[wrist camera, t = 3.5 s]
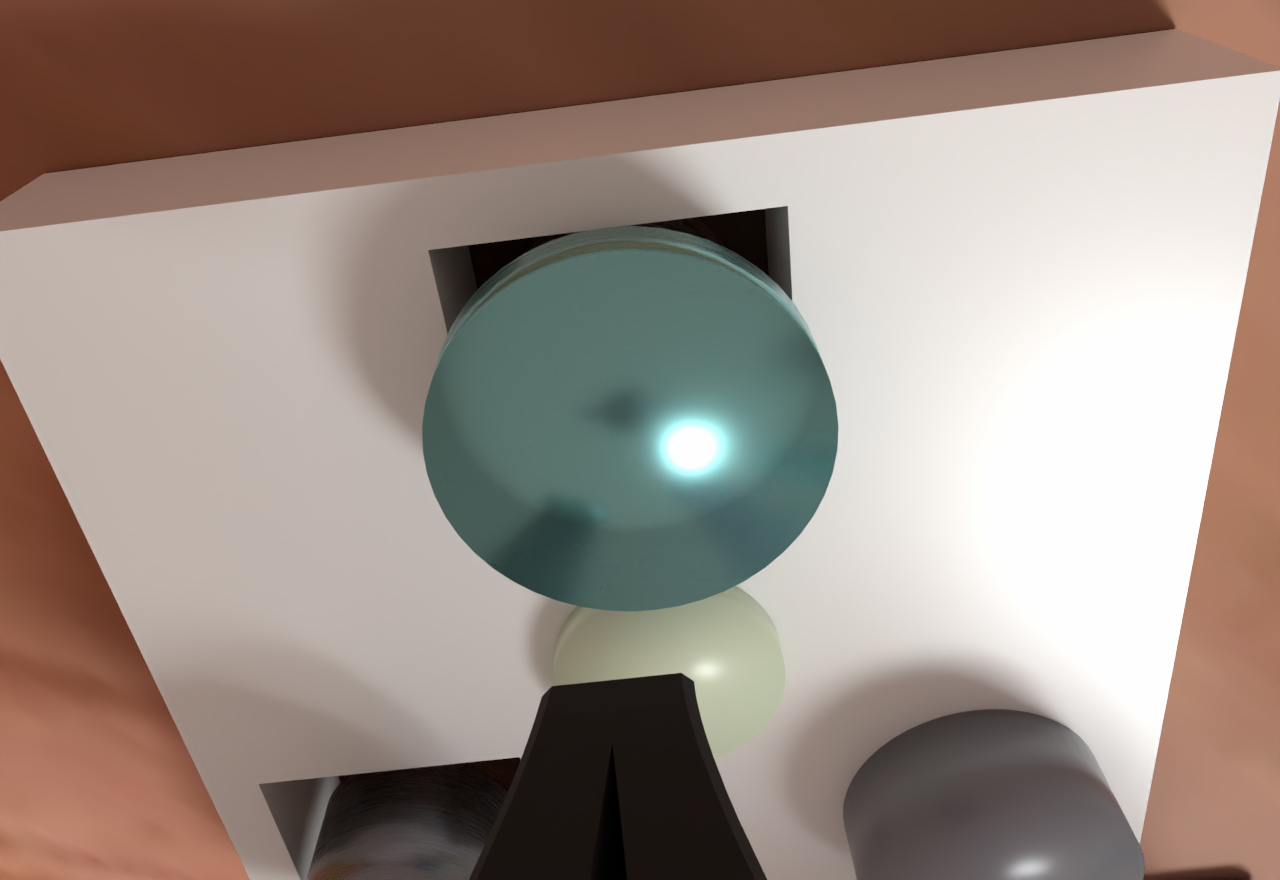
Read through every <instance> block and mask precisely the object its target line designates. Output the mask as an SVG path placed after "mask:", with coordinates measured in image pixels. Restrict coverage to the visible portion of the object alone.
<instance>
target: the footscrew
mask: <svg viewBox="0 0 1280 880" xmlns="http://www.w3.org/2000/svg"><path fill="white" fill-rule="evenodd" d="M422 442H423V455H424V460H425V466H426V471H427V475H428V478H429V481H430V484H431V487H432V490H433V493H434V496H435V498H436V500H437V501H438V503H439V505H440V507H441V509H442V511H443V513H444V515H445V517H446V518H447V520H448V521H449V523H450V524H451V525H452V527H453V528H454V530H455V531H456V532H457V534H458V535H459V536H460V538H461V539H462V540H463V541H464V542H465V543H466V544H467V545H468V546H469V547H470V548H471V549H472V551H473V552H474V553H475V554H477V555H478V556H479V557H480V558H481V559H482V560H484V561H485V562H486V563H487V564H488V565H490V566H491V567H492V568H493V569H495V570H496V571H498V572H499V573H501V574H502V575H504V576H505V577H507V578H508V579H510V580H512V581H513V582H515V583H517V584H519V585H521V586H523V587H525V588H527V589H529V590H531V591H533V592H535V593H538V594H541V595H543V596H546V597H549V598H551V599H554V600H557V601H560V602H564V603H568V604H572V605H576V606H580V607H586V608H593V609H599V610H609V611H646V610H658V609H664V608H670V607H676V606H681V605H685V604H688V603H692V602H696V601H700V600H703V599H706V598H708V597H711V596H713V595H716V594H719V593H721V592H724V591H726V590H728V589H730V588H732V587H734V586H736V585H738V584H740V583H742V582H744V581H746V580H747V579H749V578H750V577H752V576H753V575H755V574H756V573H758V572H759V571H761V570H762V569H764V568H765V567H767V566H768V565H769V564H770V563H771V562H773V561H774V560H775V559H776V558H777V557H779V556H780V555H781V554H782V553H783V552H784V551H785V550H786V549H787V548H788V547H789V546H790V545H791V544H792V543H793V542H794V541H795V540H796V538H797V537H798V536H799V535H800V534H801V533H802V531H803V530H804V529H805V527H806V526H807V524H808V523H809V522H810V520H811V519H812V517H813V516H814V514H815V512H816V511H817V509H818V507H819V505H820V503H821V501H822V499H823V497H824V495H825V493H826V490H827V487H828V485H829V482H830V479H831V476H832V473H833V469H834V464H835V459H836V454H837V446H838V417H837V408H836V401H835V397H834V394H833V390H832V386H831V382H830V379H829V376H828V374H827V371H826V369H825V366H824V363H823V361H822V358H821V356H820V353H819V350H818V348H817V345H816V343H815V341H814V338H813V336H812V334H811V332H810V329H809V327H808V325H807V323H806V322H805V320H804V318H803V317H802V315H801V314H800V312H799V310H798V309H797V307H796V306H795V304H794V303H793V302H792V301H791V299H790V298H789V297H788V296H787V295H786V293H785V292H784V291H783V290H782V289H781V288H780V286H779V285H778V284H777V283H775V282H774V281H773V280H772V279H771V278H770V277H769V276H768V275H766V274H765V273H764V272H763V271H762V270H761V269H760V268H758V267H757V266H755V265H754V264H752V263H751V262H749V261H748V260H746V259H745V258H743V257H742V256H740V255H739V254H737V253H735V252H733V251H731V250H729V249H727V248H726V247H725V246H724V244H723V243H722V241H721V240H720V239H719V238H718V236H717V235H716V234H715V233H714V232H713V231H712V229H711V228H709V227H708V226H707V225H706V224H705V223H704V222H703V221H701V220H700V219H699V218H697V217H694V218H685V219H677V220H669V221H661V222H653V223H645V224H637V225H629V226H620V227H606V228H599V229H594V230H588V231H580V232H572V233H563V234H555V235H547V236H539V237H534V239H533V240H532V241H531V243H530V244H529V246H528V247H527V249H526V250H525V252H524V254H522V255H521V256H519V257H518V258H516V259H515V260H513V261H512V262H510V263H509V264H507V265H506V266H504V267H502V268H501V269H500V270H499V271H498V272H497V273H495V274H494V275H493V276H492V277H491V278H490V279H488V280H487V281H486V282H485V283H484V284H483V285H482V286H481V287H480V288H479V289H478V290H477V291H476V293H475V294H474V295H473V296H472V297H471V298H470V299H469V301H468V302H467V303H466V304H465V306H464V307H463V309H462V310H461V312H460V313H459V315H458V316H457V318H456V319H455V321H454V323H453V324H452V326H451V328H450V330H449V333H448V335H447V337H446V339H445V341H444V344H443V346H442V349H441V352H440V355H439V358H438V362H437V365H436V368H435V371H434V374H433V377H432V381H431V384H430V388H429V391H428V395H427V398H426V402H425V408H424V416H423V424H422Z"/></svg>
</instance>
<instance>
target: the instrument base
mask: <svg viewBox="0 0 1280 880" xmlns="http://www.w3.org/2000/svg"><path fill="white" fill-rule="evenodd" d="M1279 99H1280V68H1279V67H1276V66H1274V65H1271V64H1268V63H1266V62H1263V61H1261V60H1258V59H1256V58H1253V57H1250V56H1248V55H1245V54H1243V53H1240V52H1237V51H1235V50H1232V49H1230V48H1227V47H1224V46H1222V45H1219V44H1217V43H1214V42H1211V41H1209V40H1206V39H1204V38H1201V37H1198V36H1196V35H1193V34H1191V33H1188V32H1186V31H1183V30H1180V29H1172V30H1164V31H1156V32H1148V33H1141V34H1133V35H1125V36H1117V37H1109V38H1101V39H1094V40H1086V41H1078V42H1070V43H1062V44H1055V45H1047V46H1039V47H1031V48H1023V49H1015V50H1008V51H1000V52H992V53H984V54H976V55H968V56H961V57H953V58H945V59H937V60H929V61H922V62H914V63H906V64H898V65H890V66H882V67H875V68H867V69H859V70H851V71H843V72H835V73H828V74H820V75H812V76H804V77H796V78H788V79H781V80H773V81H765V82H757V83H749V84H742V85H734V86H726V87H718V88H710V89H702V90H695V91H687V92H679V93H671V94H663V95H655V96H648V97H640V98H632V99H624V100H616V101H608V102H601V103H593V104H585V105H577V106H569V107H562V108H554V109H546V110H538V111H530V112H522V113H515V114H507V115H499V116H491V117H483V118H475V119H468V120H460V121H452V122H444V123H436V124H428V125H421V126H413V127H405V128H397V129H389V130H382V131H374V132H366V133H358V134H350V135H342V136H335V137H327V138H319V139H311V140H303V141H295V142H288V143H280V144H272V145H264V146H256V147H248V148H241V149H233V150H225V151H217V152H209V153H202V154H194V155H186V156H178V157H170V158H162V159H155V160H147V161H139V162H131V163H123V164H115V165H108V166H100V167H92V168H84V169H76V170H68V171H61V172H53V173H45V174H42V175H41V176H39V177H38V178H36V179H35V180H33V181H32V182H30V183H28V184H27V185H25V186H24V187H22V188H21V189H19V190H18V191H16V192H14V193H13V194H11V195H10V196H8V197H7V198H5V199H4V200H2V201H0V360H1V362H2V364H3V366H4V368H5V370H6V372H7V374H8V376H9V378H10V380H11V382H12V385H13V387H14V389H15V391H16V393H17V395H18V397H19V399H20V401H21V403H22V405H23V407H24V410H25V412H26V414H27V416H28V418H29V420H30V422H31V424H32V426H33V428H34V430H35V432H36V435H37V437H38V439H39V441H40V443H41V445H42V447H43V449H44V451H45V453H46V455H47V457H48V460H49V462H50V464H51V466H52V468H53V470H54V472H55V474H56V476H57V478H58V480H59V483H60V485H61V487H62V489H63V491H64V493H65V495H66V497H67V499H68V501H69V503H70V505H71V508H72V510H73V512H74V514H75V516H76V518H77V520H78V522H79V524H80V526H81V528H82V530H83V533H84V535H85V537H86V539H87V541H88V543H89V545H90V547H91V549H92V551H93V553H94V555H95V558H96V560H97V562H98V564H99V566H100V568H101V570H102V572H103V574H104V576H105V578H106V580H107V583H108V585H109V587H110V589H111V591H112V593H113V595H114V597H115V599H116V601H117V603H118V605H119V608H120V610H121V612H122V614H123V616H124V618H125V620H126V622H127V624H128V626H129V628H130V630H131V633H132V635H133V637H134V639H135V641H136V643H137V645H138V647H139V649H140V651H141V653H142V655H143V658H144V660H145V662H146V664H147V666H148V668H149V670H150V672H151V674H152V676H153V678H154V681H155V683H156V685H157V687H158V689H159V691H160V693H161V695H162V697H163V699H164V701H165V703H166V706H167V708H168V710H169V712H170V714H171V716H172V718H173V720H174V722H175V724H176V726H177V728H178V731H179V733H180V735H181V737H182V739H183V741H184V743H185V745H186V747H187V749H188V751H189V753H190V756H191V758H192V760H193V762H194V764H195V766H196V768H197V770H198V772H199V774H200V776H201V778H202V781H203V783H204V785H205V787H206V789H207V791H208V793H209V795H210V797H211V799H212V801H213V803H214V806H215V808H216V810H217V812H218V814H219V816H220V818H221V820H222V822H223V824H224V826H225V828H226V831H227V833H228V835H229V837H230V839H231V841H232V843H233V845H234V847H235V849H236V851H237V853H238V856H239V858H240V860H241V862H242V864H243V866H244V868H245V870H246V872H247V874H248V876H249V879H250V880H306V879H307V876H308V872H309V869H310V865H311V861H312V858H313V854H314V851H315V847H316V844H317V840H318V837H319V833H320V830H321V826H322V823H323V819H324V816H325V812H326V809H327V805H328V802H329V799H330V797H331V795H332V793H333V791H334V790H335V789H336V788H337V786H338V785H339V784H340V783H341V782H340V780H339V777H338V776H341V775H351V774H361V773H371V772H380V771H390V770H400V769H409V768H419V767H429V766H438V765H448V764H458V763H468V762H477V761H487V760H497V759H506V758H516V757H520V760H521V758H522V755H523V752H524V750H525V747H526V744H527V741H528V738H529V735H530V733H531V730H532V727H533V724H534V721H535V718H536V714H537V711H538V708H539V704H540V701H541V697H542V696H543V695H544V694H545V693H546V692H547V691H548V690H549V689H550V688H551V687H552V686H558V685H568V684H578V683H587V682H597V681H607V680H616V679H626V678H636V677H646V676H655V675H665V674H675V673H682V674H684V675H685V676H687V677H688V678H690V679H691V680H693V681H694V685H695V693H696V698H697V703H698V707H699V711H700V716H701V720H702V723H703V726H704V730H705V733H706V736H707V739H708V742H709V745H710V748H711V751H712V754H713V757H714V760H715V762H716V765H717V767H718V770H719V773H720V775H721V778H722V781H723V783H724V786H725V788H726V791H727V793H728V796H729V798H730V800H731V803H732V805H733V807H734V810H735V812H736V814H737V817H738V819H739V821H740V823H741V825H742V827H743V829H744V831H745V834H746V836H747V838H748V840H749V842H750V844H751V846H752V848H753V851H754V853H755V855H756V857H757V859H758V861H759V863H760V865H761V867H762V870H763V872H764V874H765V876H766V878H767V880H1143V878H1144V868H1145V865H1144V857H1143V853H1142V850H1141V847H1140V840H1141V835H1142V830H1143V824H1144V819H1145V814H1146V808H1147V803H1148V798H1149V792H1150V787H1151V782H1152V776H1153V771H1154V766H1155V760H1156V755H1157V750H1158V744H1159V739H1160V734H1161V728H1162V723H1163V718H1164V712H1165V707H1166V702H1167V696H1168V691H1169V686H1170V680H1171V675H1172V670H1173V664H1174V659H1175V654H1176V648H1177V643H1178V638H1179V632H1180V627H1181V622H1182V616H1183V611H1184V606H1185V600H1186V595H1187V590H1188V584H1189V579H1190V574H1191V568H1192V563H1193V558H1194V552H1195V547H1196V542H1197V536H1198V531H1199V526H1200V520H1201V515H1202V510H1203V504H1204V499H1205V494H1206V488H1207V483H1208V478H1209V472H1210V467H1211V462H1212V457H1213V451H1214V446H1215V441H1216V435H1217V430H1218V425H1219V419H1220V414H1221V409H1222V403H1223V398H1224V393H1225V387H1226V382H1227V377H1228V371H1229V366H1230V361H1231V355H1232V350H1233V345H1234V339H1235V334H1236V329H1237V323H1238V318H1239V313H1240V307H1241V302H1242V297H1243V291H1244V286H1245V281H1246V275H1247V270H1248V265H1249V259H1250V254H1251V249H1252V243H1253V238H1254V233H1255V227H1256V222H1257V217H1258V211H1259V206H1260V201H1261V195H1262V190H1263V185H1264V179H1265V174H1266V169H1267V163H1268V158H1269V153H1270V147H1271V142H1272V137H1273V131H1274V126H1275V121H1276V115H1277V110H1278V105H1279ZM759 209H765V221H766V238H767V254H768V271H769V277H770V278H771V279H772V280H773V281H774V282H775V283H777V284H778V285H779V286H780V288H781V289H782V290H783V291H784V292H785V293H786V295H787V296H788V297H789V298H790V299H791V301H792V302H793V303H794V304H795V306H796V307H797V309H798V310H799V312H800V314H801V315H802V317H803V318H804V320H805V322H806V323H807V325H808V327H809V329H810V332H811V334H812V336H813V338H814V341H815V343H816V345H817V348H818V350H819V353H820V356H821V358H822V361H823V363H824V366H825V369H826V371H827V374H828V376H829V379H830V382H831V386H832V390H833V394H834V397H835V401H836V408H837V417H838V446H837V454H836V459H835V464H834V469H833V473H832V476H831V479H830V482H829V485H828V487H827V490H826V493H825V495H824V497H823V499H822V501H821V503H820V505H819V507H818V509H817V511H816V512H815V514H814V516H813V517H812V519H811V520H810V522H809V523H808V524H807V526H806V527H805V529H804V530H803V531H802V533H801V534H800V535H799V536H798V537H797V538H796V540H795V541H794V542H793V543H792V544H791V545H790V546H789V547H788V548H787V549H786V550H785V551H784V552H783V553H782V554H781V555H780V556H779V557H777V558H776V559H775V560H774V561H773V562H771V563H770V564H769V565H768V566H767V567H765V568H764V569H762V570H761V571H759V572H758V573H756V574H755V575H753V576H752V577H750V578H749V579H747V580H746V581H744V582H742V583H740V584H738V585H736V586H734V587H732V588H730V589H728V590H726V591H724V592H721V593H719V594H716V595H713V596H711V597H708V598H706V599H703V600H700V601H696V602H692V603H688V604H685V605H681V606H676V607H670V608H664V609H658V610H646V611H609V610H599V609H593V608H586V607H580V606H576V605H572V604H568V603H564V602H560V601H557V600H554V599H551V598H549V597H546V596H543V595H541V594H538V593H535V592H533V591H531V590H529V589H527V588H525V587H523V586H521V585H519V584H517V583H515V582H513V581H512V580H510V579H508V578H507V577H505V576H504V575H502V574H501V573H499V572H498V571H496V570H495V569H493V568H492V567H491V566H490V565H488V564H487V563H486V562H485V561H484V560H482V559H481V558H480V557H479V556H478V555H477V554H475V553H474V552H473V551H472V549H471V548H470V547H469V546H468V545H467V544H466V543H465V542H464V541H463V540H462V539H461V538H460V536H459V535H458V534H457V532H456V531H455V530H454V528H453V527H452V525H451V524H450V523H449V521H448V520H447V518H446V517H445V515H444V513H443V511H442V509H441V507H440V505H439V503H438V501H437V500H436V498H435V496H434V493H433V490H432V487H431V484H430V481H429V478H428V475H427V471H426V466H425V460H424V455H423V442H422V424H423V416H424V408H425V402H426V398H427V395H428V391H429V388H430V384H431V381H432V377H433V374H434V371H435V368H436V365H437V362H438V358H439V355H440V352H441V349H442V346H443V344H444V341H445V339H446V337H447V335H448V333H449V330H450V328H451V326H452V324H453V323H454V321H455V319H456V318H457V316H458V315H459V313H460V312H461V310H462V309H463V307H464V306H465V304H466V303H467V302H468V301H469V299H470V298H471V297H472V296H473V295H474V294H475V293H476V291H477V290H478V289H477V284H476V279H475V275H474V270H473V265H472V261H471V256H470V251H469V247H468V245H474V244H482V243H490V242H498V241H507V240H515V239H523V238H531V237H539V236H547V235H555V234H563V233H572V232H580V231H588V230H594V229H599V228H606V227H620V226H629V225H637V224H645V223H653V222H661V221H669V220H677V219H685V218H694V217H702V216H710V215H718V214H726V213H734V212H742V211H751V210H759Z"/></svg>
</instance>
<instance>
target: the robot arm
mask: <svg viewBox="0 0 1280 880" xmlns="http://www.w3.org/2000/svg"><path fill="white" fill-rule="evenodd" d="M469 880H767V878H766V876H765V874H764V872H763V870H762V867H761V865H760V863H759V861H758V859H757V857H756V855H755V853H754V851H753V848H752V846H751V844H750V842H749V840H748V838H747V836H746V834H745V831H744V829H743V827H742V825H741V823H740V821H739V819H738V817H737V814H736V812H735V810H734V807H733V805H732V803H731V800H730V798H729V796H728V793H727V791H726V788H725V786H724V783H723V781H722V778H721V775H720V773H719V770H718V767H717V765H716V762H715V760H714V757H713V754H712V751H711V748H710V745H709V742H708V739H707V736H706V733H705V730H704V726H703V723H702V720H701V716H700V711H699V707H698V703H697V698H696V693H695V685H694V681H693V680H691V679H690V678H688V677H687V676H685V675H684V674H682V673H675V674H665V675H655V676H646V677H636V678H626V679H616V680H607V681H597V682H587V683H578V684H568V685H558V686H552V687H551V688H550V689H549V690H548V691H547V692H546V693H545V694H544V695H543V696H542V697H541V701H540V704H539V708H538V711H537V714H536V718H535V721H534V724H533V727H532V730H531V733H530V735H529V738H528V741H527V744H526V747H525V750H524V752H523V755H522V758H521V760H520V763H519V765H518V768H517V771H516V773H515V776H514V778H513V781H512V783H511V786H510V788H509V790H508V793H507V795H506V798H505V800H504V803H503V805H502V807H501V810H500V812H499V815H498V817H497V819H496V821H495V823H494V826H493V828H492V830H491V832H490V834H489V837H488V839H487V841H486V843H485V845H484V848H483V850H482V852H481V854H480V856H479V859H478V861H477V863H476V865H475V867H474V869H473V872H472V874H471V876H470V878H469Z"/></svg>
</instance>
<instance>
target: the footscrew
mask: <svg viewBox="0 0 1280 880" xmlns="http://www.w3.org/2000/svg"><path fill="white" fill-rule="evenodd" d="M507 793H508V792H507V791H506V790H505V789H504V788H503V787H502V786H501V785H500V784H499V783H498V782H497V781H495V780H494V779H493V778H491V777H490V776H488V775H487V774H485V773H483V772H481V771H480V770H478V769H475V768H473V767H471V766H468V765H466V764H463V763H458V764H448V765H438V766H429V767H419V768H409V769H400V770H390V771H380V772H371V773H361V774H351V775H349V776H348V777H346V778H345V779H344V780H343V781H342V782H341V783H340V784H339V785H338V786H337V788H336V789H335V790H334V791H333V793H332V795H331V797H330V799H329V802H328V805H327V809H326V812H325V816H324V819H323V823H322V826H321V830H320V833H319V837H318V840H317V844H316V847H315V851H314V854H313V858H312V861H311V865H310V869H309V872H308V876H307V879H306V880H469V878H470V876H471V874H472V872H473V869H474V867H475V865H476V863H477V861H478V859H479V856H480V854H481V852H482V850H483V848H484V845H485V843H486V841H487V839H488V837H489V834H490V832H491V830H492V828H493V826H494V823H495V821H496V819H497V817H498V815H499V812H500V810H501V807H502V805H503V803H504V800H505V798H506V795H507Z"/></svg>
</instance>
